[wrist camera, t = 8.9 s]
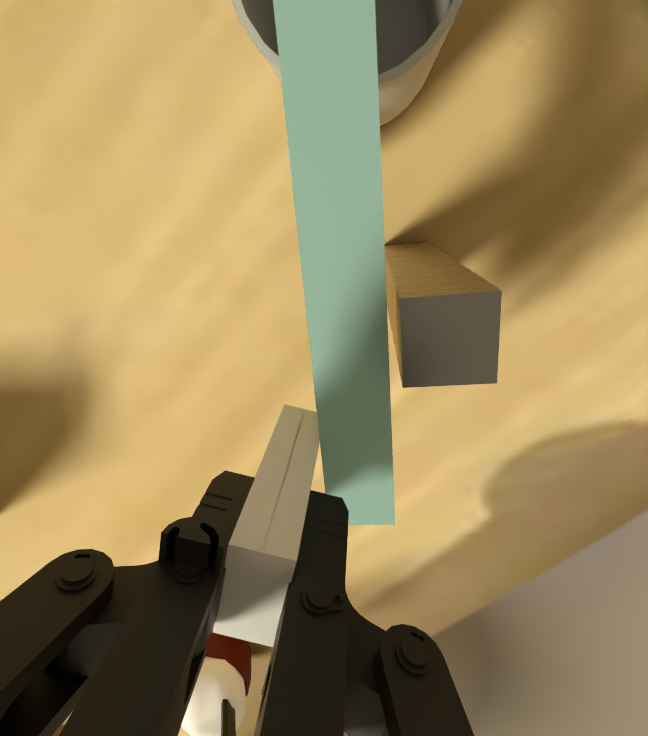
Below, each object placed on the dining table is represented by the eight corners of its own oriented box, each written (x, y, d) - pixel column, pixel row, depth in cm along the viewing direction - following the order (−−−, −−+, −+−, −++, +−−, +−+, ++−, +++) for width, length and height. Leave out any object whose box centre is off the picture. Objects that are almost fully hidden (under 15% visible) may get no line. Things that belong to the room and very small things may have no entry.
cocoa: (181, 654, 37) (95, 848, 26) (170, 603, 35) (70, 795, 24) (287, 669, 36) (243, 879, 25) (284, 618, 34) (233, 827, 23)
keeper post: (382, 245, 23) (399, 298, 10) (427, 241, 23) (501, 290, 10) (384, 290, 24) (402, 387, 11) (428, 286, 24) (496, 383, 11)
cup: (460, -23, 19) (533, -201, 10) (383, 210, 22) (392, 216, 14) (302, -75, 19) (250, -297, 10) (251, 168, 22) (183, 149, 14)
